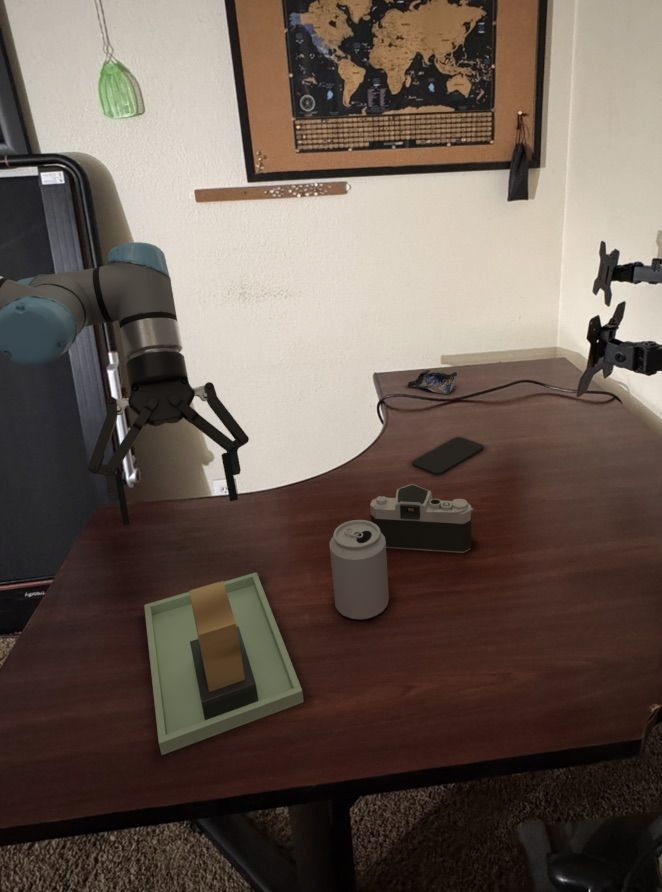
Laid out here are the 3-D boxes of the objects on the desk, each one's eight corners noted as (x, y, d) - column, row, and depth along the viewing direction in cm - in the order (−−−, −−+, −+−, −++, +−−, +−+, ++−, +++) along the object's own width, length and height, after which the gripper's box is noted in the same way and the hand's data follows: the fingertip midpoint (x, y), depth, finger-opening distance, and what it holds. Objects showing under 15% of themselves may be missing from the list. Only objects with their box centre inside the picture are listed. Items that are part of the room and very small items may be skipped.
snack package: (415, 400, 156) (461, 393, 157) (413, 375, 154) (459, 368, 156) (405, 391, 167) (448, 385, 169) (403, 367, 166) (446, 361, 168)
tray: (146, 616, 87) (144, 604, 86) (258, 583, 92) (256, 571, 92) (162, 757, 66) (158, 743, 66) (304, 704, 72) (302, 690, 71)
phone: (409, 462, 123) (457, 435, 133) (409, 465, 124) (457, 439, 133) (438, 474, 118) (486, 445, 128) (438, 478, 119) (486, 449, 128)
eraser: (193, 660, 78) (179, 587, 74) (241, 644, 80) (230, 573, 76) (205, 722, 69) (189, 644, 66) (258, 703, 72) (247, 626, 68)
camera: (474, 526, 103) (475, 472, 100) (472, 558, 95) (472, 501, 92) (379, 521, 106) (376, 468, 103) (369, 551, 98) (366, 496, 95)
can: (377, 629, 82) (372, 552, 78) (326, 617, 85) (318, 542, 81) (396, 593, 89) (393, 520, 85) (347, 583, 91) (342, 512, 87)
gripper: (242, 351, 93) (270, 492, 91) (56, 376, 84) (80, 534, 81) (250, 337, 86) (280, 490, 84) (48, 363, 77) (74, 536, 74)
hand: (182, 512), depth 82 cm, fingers open, 13 cm apart
